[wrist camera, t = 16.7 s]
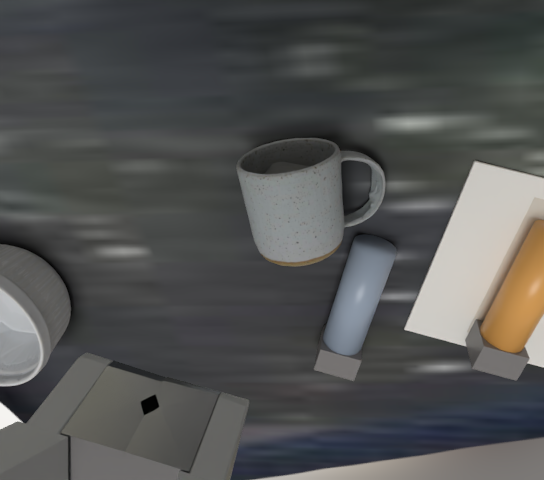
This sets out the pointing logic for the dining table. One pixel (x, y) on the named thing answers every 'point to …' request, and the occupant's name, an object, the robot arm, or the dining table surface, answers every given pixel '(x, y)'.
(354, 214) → the ceramic mug
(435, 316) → the paper
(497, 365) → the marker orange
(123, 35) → the dining table surface
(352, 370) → the marker blue
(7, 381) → the ramekin
